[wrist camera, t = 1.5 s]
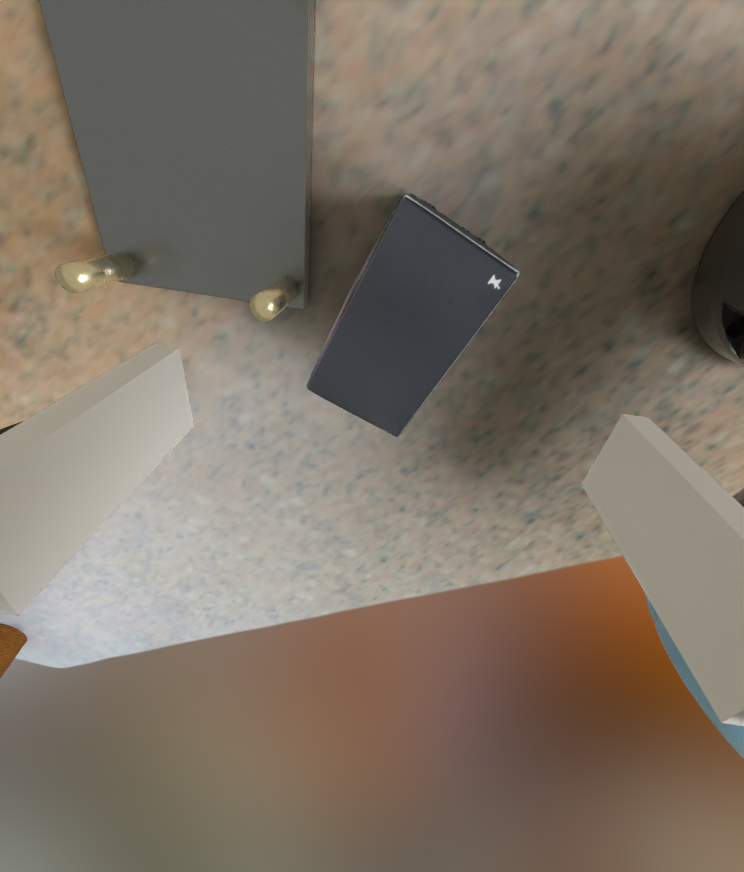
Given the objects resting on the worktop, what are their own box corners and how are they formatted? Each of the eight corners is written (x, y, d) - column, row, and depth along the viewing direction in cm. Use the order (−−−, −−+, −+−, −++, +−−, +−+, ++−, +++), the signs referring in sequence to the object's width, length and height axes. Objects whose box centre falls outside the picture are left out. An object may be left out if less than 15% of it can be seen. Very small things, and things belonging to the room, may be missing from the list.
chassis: (317, -80, 17) (275, -202, 12) (308, 304, 28) (283, 331, 22) (30, -121, 18) (-139, -260, 12) (125, 276, 28) (56, 297, 22)
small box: (405, 186, 23) (401, 182, 14) (488, 243, 24) (531, 271, 16) (333, 329, 29) (299, 389, 20) (404, 370, 30) (401, 442, 21)
